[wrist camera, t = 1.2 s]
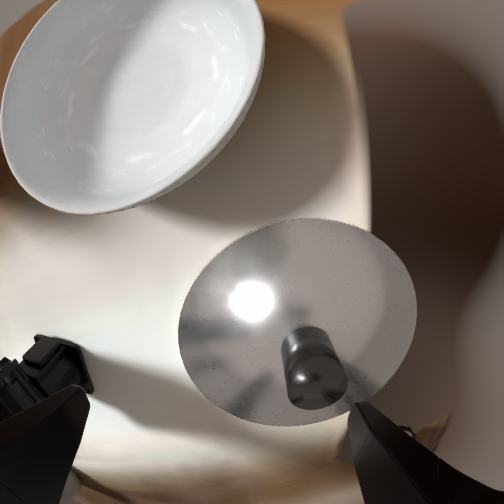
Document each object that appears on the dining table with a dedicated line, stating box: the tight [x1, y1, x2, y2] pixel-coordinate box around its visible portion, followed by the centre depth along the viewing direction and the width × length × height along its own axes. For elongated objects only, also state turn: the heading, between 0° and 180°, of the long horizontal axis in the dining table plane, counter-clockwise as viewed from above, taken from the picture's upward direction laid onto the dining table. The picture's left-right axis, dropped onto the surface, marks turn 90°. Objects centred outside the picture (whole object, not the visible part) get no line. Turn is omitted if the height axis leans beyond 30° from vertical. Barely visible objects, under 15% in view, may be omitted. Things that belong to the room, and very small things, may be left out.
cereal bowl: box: [0, 0, 266, 215], centre depth 13 cm, size 17×17×7 cm
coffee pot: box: [59, 469, 81, 504], centre depth 24 cm, size 21×12×15 cm, turn 129°
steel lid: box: [178, 218, 417, 426], centre depth 19 cm, size 20×20×6 cm
